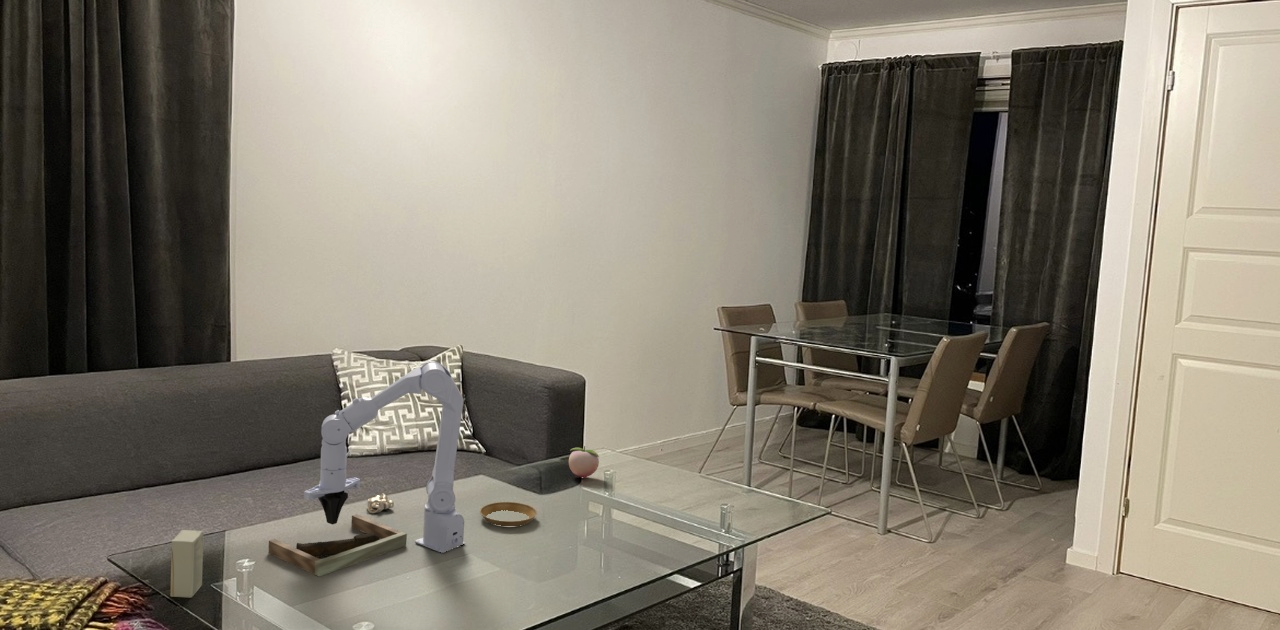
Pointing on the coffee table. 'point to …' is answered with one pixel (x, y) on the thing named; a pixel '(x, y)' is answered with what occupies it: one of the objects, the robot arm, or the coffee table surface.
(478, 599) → the coffee table surface
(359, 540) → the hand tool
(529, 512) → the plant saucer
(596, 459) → the decorative fruit
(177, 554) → the skincare box
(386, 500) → the ornament
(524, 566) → the coffee table surface
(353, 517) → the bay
